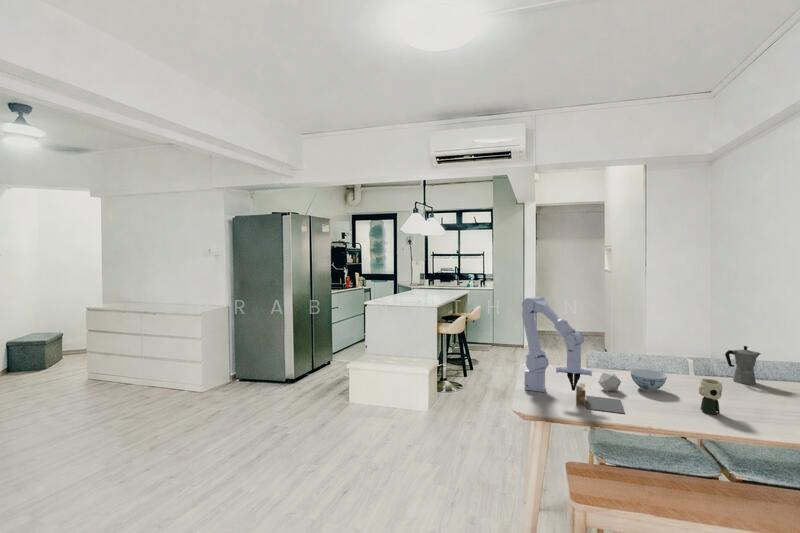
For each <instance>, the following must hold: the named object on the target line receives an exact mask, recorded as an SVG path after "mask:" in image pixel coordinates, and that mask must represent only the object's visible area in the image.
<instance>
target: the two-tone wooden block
mask: <svg viewBox="0 0 800 533" xmlns="http://www.w3.org/2000/svg"><path fill="white" fill-rule="evenodd" d="M575 406H582V407H585V406H586V383H580V382H577V385H576V388H575Z"/></svg>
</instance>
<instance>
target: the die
mask: <svg viewBox="0 0 800 533" xmlns="http://www.w3.org/2000/svg"><path fill="white" fill-rule="evenodd" d="M597 383H598V384H599V386H601V388H602V389H603V390H604V391H605V392H617V391H618V389H619V388H620V385H621V383H622V381H621V379H620V378H619V377H618V375H616V373H615V372H602V373H601V376H600V378H599V380H598V382H597Z"/></svg>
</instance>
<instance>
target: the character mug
mask: <svg viewBox="0 0 800 533" xmlns="http://www.w3.org/2000/svg"><path fill="white" fill-rule="evenodd" d="M722 392H723V384H722V382H721V381H720V380H718V379H713V378H701V379H700V382H699V387H698V394H699V395H700V396H702V398H701V404H700V405H701V406H700V410H701V411H702V412H705V413H707V414H711V415H716V414H720V403H719V399H721V398H722V395H723V394H722Z"/></svg>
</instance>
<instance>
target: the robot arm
mask: <svg viewBox="0 0 800 533" xmlns="http://www.w3.org/2000/svg"><path fill="white" fill-rule="evenodd" d="M521 306H522V307H521V308H522V312H521V316H522V317H521V318H522V321H523V326H524V331H525V335H526V336H525V337H526V341H527V347H528V352H527V354H525V355H526V356H525V358H526V361H525V366H526V369H525V370H524V381H523V383H524V391H534V392H543V393H546V390H547V386H546V370H547V368H548V367H549V358H548V357H547V355H546V353H545V351H544V350H542V346H541V343H540V338H539V333H538V328H537V323H536V322H537V321H536V318H535V317H536V316H537V314H538V313H542V315H544V316H545V317H546V318H547V319H548V320H550V321H551V322H552V324H554V326H553V327H554V329H555V330H556V331H557V332H558V333H559V334H560V336H562V338H563V341H564V343H565V346H566V367H565V366H564V367H560V366H556V367H555V373H563V374H566V375H567V376H566V377H567V378H568V380H569V383H570V386H571V391H575V392H576V385H577V383H579V380H580V378H581V375H583V376H584V375H585V376H589V377H592V376H593V370H591V369H585V368H582V367H581V366H582V362H581V361H582V344H583V343H584V340H585V336H584V335H583V334H582V332H581V331H578V330H576V329H575V328H573V327H572V326H571V325H570V323H569V321H568V320H565V319H561V318H560V317H559V315H557V313H556V312H555V311H554V310H553V308H551V307H550V305H549V303H548V301H547V300H546V299H545V298H544V297H543V296H540V295H539V296H534V297H525V298H524V299H523V301H522V302H521Z"/></svg>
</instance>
